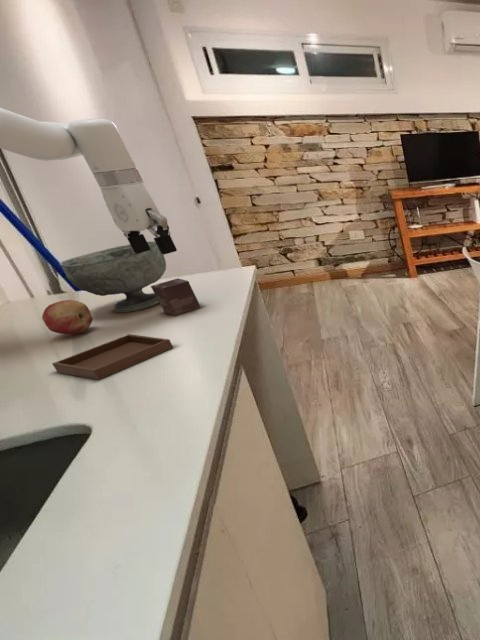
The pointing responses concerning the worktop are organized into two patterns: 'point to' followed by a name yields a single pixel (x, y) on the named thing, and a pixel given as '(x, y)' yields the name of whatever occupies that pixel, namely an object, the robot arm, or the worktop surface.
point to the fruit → (67, 317)
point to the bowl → (118, 274)
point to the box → (175, 296)
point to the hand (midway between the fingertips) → (156, 252)
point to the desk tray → (112, 356)
